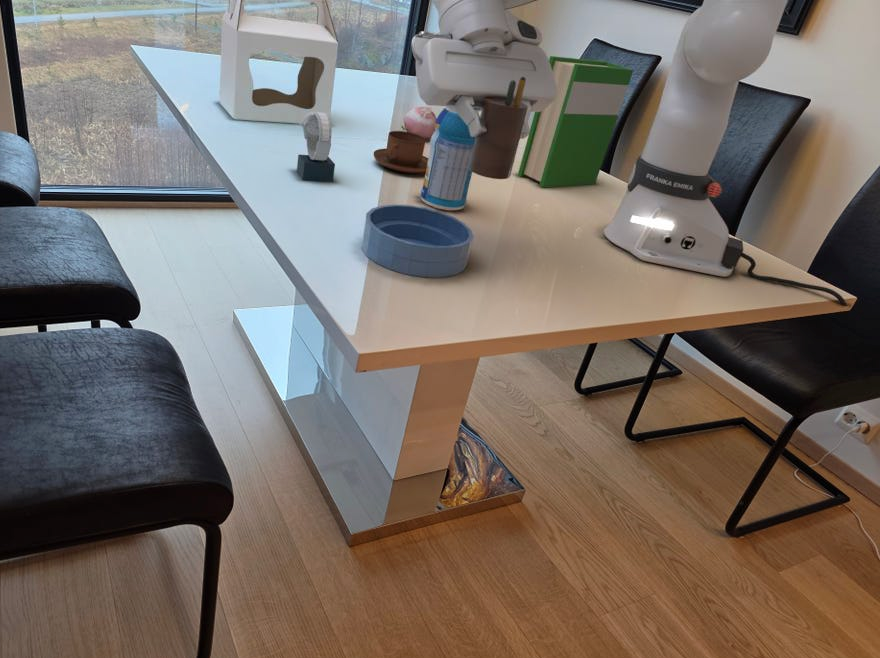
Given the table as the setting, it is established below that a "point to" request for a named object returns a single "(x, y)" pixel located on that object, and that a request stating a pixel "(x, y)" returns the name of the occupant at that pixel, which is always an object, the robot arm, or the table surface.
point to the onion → (420, 122)
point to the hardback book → (575, 123)
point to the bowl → (416, 241)
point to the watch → (316, 148)
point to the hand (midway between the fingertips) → (501, 135)
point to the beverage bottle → (449, 162)
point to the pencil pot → (499, 134)
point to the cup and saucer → (403, 152)
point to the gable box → (281, 37)
